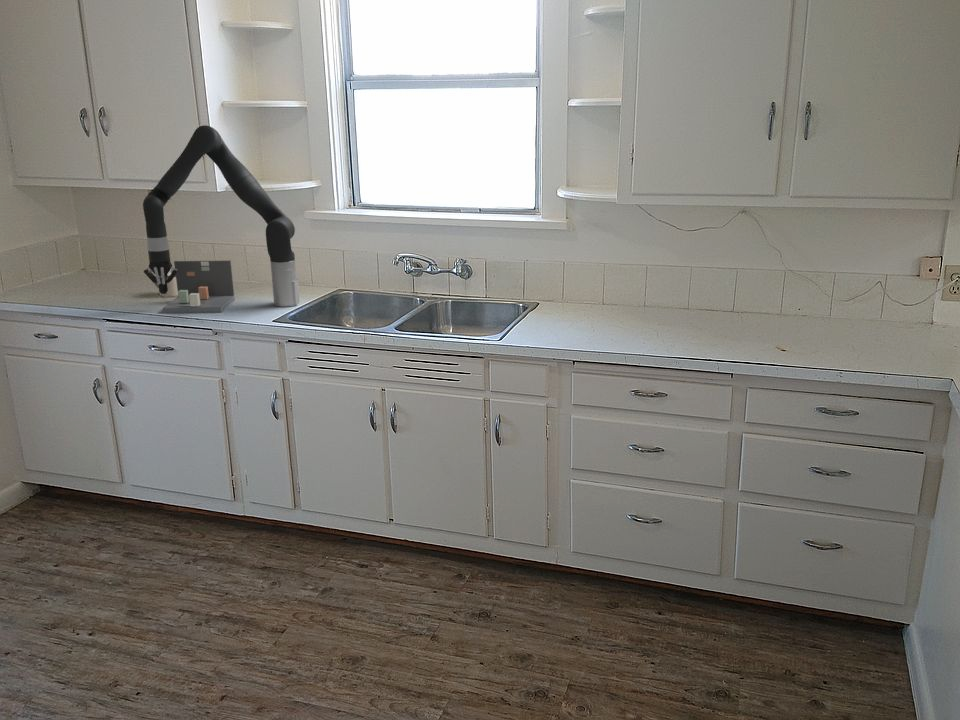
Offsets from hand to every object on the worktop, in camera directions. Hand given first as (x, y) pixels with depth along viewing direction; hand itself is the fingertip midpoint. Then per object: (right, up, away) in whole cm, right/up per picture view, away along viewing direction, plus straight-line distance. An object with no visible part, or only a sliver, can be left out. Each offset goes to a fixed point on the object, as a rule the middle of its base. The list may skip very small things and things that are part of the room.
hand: (163, 293), depth 333 cm
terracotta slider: (+14, -2, +6) cm, 15 cm away
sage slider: (+8, -3, +1) cm, 8 cm away
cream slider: (+14, -5, -4) cm, 15 cm away
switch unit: (+13, -5, +4) cm, 14 cm away
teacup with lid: (-6, +1, +23) cm, 24 cm away
